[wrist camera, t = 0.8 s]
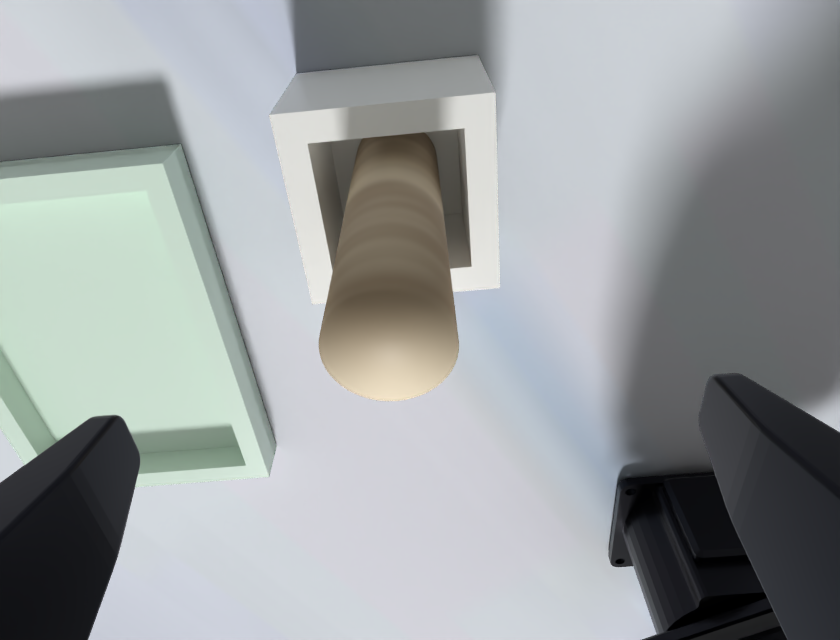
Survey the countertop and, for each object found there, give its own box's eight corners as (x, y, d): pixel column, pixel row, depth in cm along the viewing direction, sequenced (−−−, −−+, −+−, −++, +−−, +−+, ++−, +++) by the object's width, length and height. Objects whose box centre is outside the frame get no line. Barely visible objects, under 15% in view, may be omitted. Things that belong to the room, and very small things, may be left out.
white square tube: (484, 222, 22) (499, 288, 18) (328, 236, 22) (312, 304, 18) (478, 54, 19) (495, 92, 15) (296, 73, 19) (269, 114, 15)
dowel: (440, 195, 20) (462, 395, 12) (362, 202, 20) (331, 406, 12) (433, 116, 19) (454, 282, 11) (350, 124, 19) (306, 295, 11)
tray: (276, 446, 28) (269, 476, 26) (62, 463, 28) (43, 494, 27) (181, 143, 20) (162, 163, 19) (-114, 173, 20) (-155, 194, 19)
